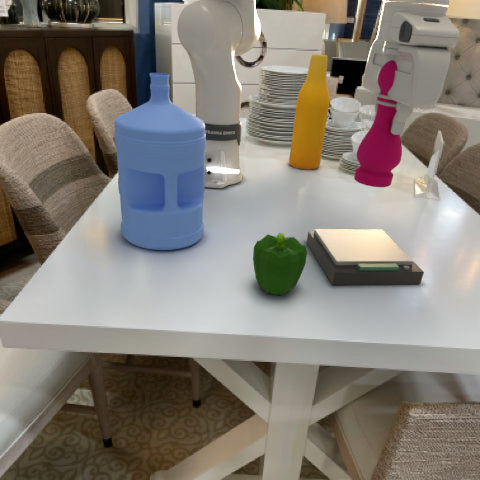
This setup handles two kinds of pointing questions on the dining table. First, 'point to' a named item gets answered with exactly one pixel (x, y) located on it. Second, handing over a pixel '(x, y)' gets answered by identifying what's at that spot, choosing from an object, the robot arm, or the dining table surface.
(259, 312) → the dining table surface
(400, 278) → the scale
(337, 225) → the dining table surface
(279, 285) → the bell pepper
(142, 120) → the water jug
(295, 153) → the beer bottle
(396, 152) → the pepper mill
